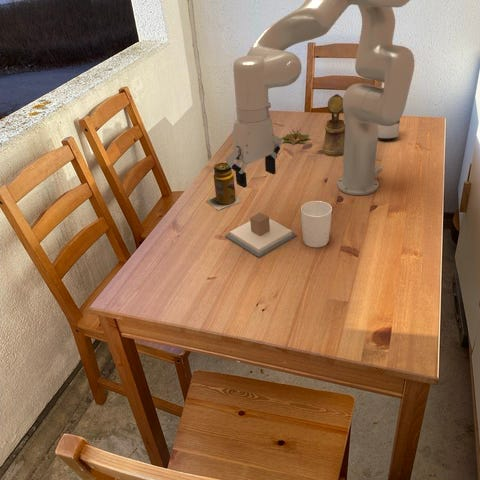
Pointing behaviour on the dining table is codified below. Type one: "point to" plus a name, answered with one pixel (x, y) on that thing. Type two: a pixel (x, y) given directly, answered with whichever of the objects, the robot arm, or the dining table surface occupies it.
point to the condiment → (223, 187)
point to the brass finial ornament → (334, 129)
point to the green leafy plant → (299, 136)
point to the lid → (260, 232)
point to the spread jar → (388, 132)
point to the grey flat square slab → (265, 249)
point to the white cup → (316, 223)
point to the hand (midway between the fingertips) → (256, 179)
